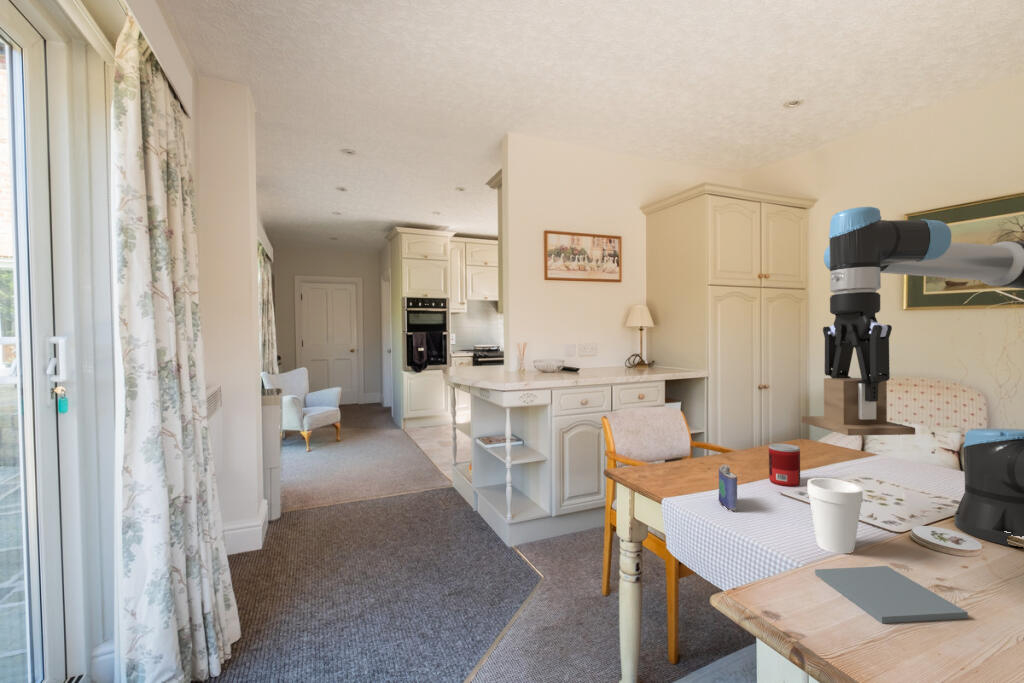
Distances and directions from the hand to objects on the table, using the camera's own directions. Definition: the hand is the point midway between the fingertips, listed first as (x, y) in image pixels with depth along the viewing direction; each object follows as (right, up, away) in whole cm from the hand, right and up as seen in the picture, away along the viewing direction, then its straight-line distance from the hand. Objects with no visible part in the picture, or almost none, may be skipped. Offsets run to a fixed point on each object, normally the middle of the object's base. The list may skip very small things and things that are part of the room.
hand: (854, 415), depth 83 cm
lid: (0, -2, 0) cm, 2 cm away
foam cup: (+3, -29, +9) cm, 31 cm away
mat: (-1, -29, -8) cm, 30 cm away
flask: (-8, -29, +33) cm, 45 cm away
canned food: (+17, -29, +49) cm, 59 cm away
